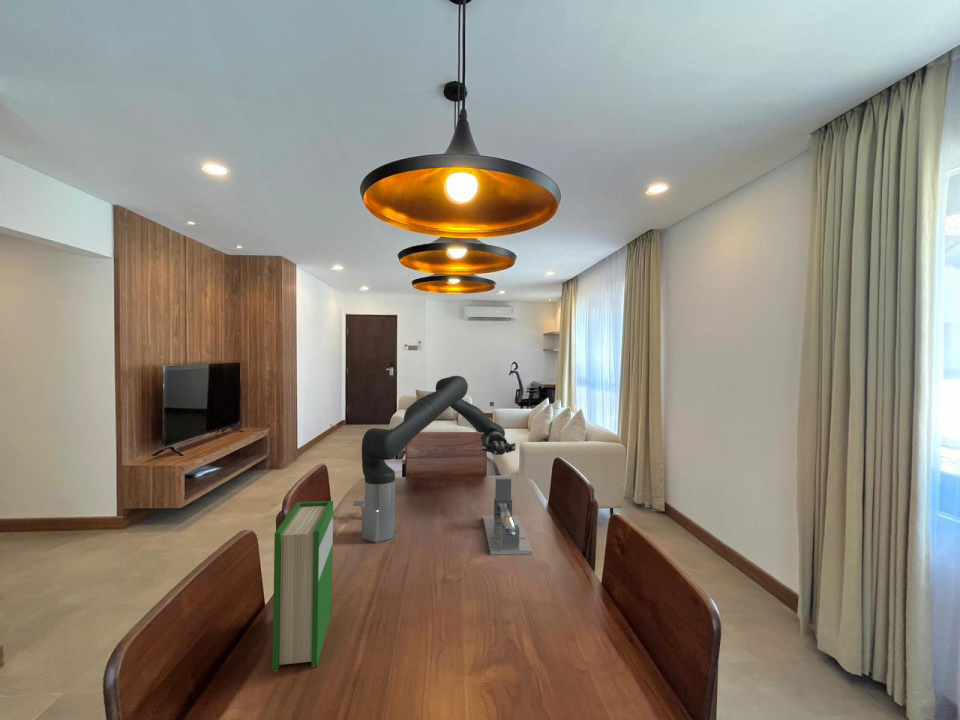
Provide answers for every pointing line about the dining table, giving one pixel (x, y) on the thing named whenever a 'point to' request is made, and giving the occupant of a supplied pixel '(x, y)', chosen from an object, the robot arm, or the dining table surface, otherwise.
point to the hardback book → (302, 583)
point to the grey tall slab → (502, 495)
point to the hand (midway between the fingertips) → (501, 451)
